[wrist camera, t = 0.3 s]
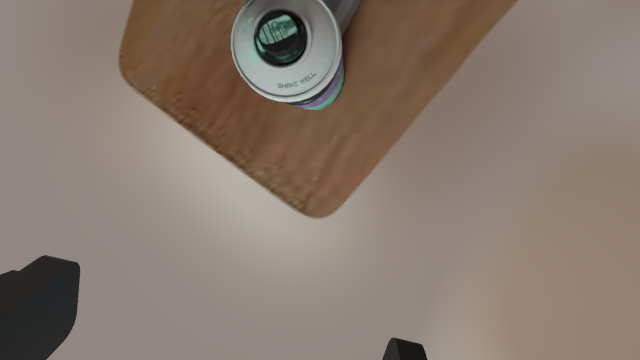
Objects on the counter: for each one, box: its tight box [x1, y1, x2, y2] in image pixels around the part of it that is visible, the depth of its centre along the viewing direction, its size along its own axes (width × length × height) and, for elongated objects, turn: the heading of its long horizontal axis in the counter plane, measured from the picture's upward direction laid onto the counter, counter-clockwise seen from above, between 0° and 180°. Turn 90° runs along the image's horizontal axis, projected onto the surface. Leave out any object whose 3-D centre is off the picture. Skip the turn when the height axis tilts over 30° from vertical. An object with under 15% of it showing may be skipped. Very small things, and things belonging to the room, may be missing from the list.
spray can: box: [231, 0, 344, 110], centre depth 26 cm, size 6×6×20 cm
